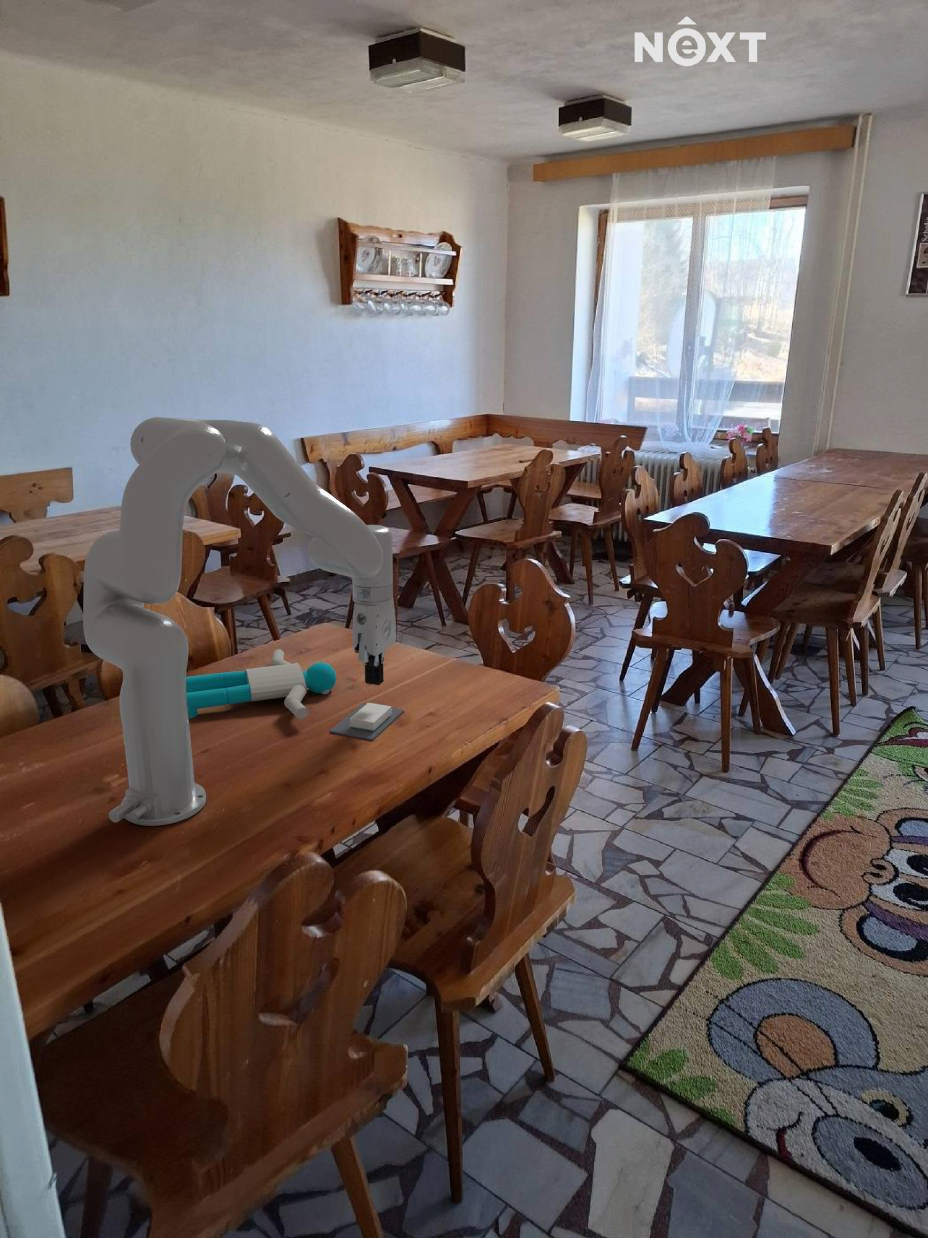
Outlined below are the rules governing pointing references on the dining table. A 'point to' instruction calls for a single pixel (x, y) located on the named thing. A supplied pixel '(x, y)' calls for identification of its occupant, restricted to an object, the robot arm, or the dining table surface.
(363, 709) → the slab
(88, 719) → the dining table surface
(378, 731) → the mat
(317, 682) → the toy
